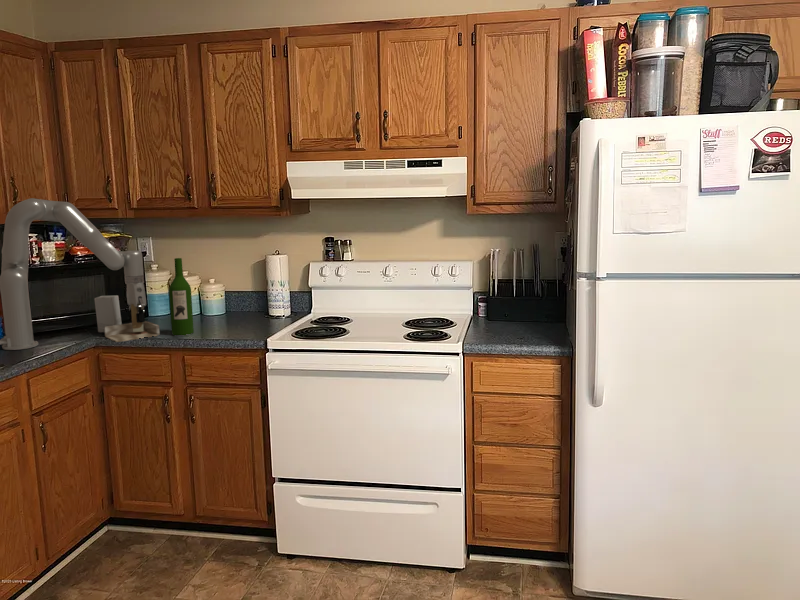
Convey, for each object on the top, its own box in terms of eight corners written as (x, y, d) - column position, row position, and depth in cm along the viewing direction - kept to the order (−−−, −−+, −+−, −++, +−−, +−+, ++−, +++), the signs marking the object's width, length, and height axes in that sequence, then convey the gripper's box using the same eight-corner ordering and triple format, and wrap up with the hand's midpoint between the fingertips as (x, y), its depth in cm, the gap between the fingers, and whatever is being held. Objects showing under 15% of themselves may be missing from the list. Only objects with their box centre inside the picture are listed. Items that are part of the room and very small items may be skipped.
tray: (116, 342, 278) (115, 331, 277) (105, 337, 288) (104, 326, 288) (159, 335, 290) (159, 325, 289) (147, 330, 300) (146, 320, 299)
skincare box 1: (122, 329, 304) (119, 295, 302) (115, 332, 298) (112, 297, 295) (104, 329, 305) (101, 295, 302) (96, 332, 298) (93, 297, 296)
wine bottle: (172, 336, 288) (166, 259, 283) (172, 332, 296) (167, 257, 291) (194, 334, 290) (189, 258, 285) (193, 330, 299) (188, 257, 294)
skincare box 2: (132, 329, 294) (130, 301, 292) (143, 328, 296) (141, 301, 294) (132, 332, 288) (130, 303, 286) (143, 331, 290) (141, 303, 288)
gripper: (151, 280, 284) (153, 322, 287) (135, 277, 297) (138, 317, 300) (133, 282, 280) (136, 324, 282) (118, 278, 292) (121, 319, 295)
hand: (137, 320), depth 291 cm, fingers closed on skincare box 2, 7 cm apart
